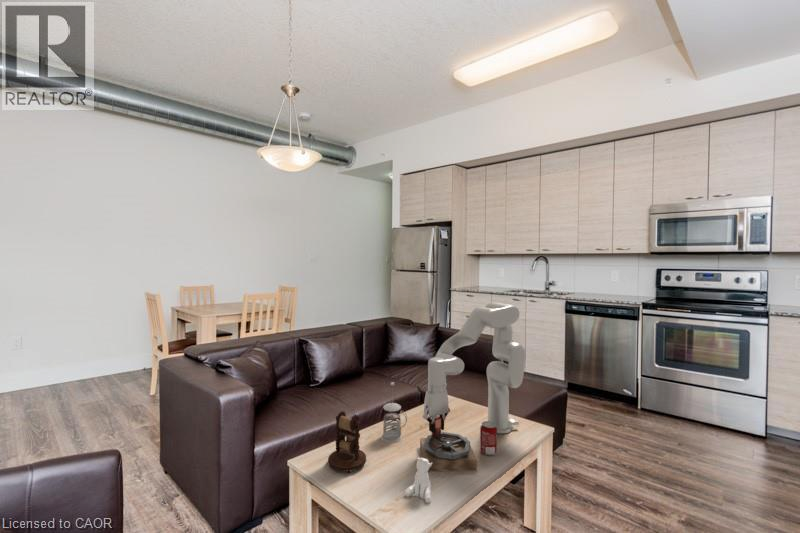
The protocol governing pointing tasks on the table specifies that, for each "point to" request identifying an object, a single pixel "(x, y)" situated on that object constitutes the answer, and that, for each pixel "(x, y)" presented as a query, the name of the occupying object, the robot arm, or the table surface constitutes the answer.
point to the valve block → (449, 464)
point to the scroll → (347, 445)
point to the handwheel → (446, 443)
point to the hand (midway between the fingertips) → (436, 429)
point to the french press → (395, 430)
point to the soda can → (488, 438)
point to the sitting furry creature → (421, 481)
